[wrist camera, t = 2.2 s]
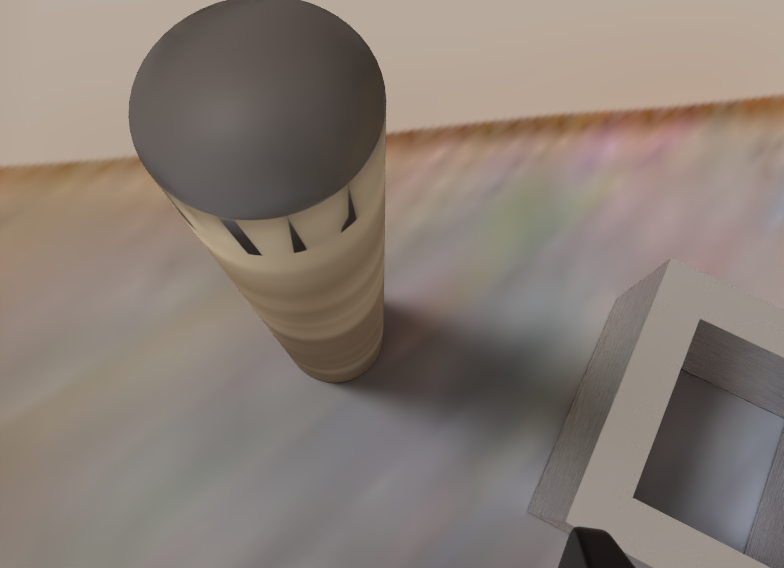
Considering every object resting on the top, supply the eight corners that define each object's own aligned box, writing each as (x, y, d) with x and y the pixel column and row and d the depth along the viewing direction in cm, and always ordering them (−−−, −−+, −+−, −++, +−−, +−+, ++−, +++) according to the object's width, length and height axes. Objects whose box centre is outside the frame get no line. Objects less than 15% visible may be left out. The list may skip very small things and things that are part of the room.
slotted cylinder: (401, 351, 20) (433, 142, 7) (316, 400, 19) (197, 268, 7) (353, 271, 21) (309, -42, 8) (270, 317, 20) (87, 61, 8)
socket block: (765, 636, 18) (871, 680, 14) (527, 511, 19) (565, 521, 15) (836, 401, 20) (946, 384, 16) (616, 298, 20) (670, 258, 17)
